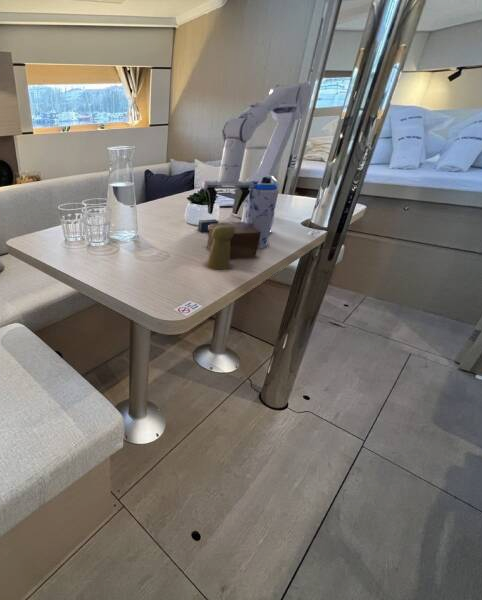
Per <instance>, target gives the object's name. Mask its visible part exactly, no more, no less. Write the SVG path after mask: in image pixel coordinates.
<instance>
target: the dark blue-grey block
mask: <svg viewBox="0 0 482 600" xmlns="http://www.w3.org/2000/svg"><path fill="white" fill-rule="evenodd" d="M216 223H219V221H218V220H217V219H216V218H215V219H214V218H213V219H212V218H211V219H200V220H198V224H197V225H198V226H197V231H198V232H200V233H209V230H208V225H210V224H216Z"/></svg>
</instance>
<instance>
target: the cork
mask: <svg viewBox="0 0 482 600" xmlns="http://www.w3.org/2000/svg"><path fill="white" fill-rule="evenodd" d="M233 234H234V231H233V229H232V228H231V227H229V226H217V227H215V228H214V229H213V232H212V236H213V238H214V240H213V244H212V247H211V251H210V250H209V255H208V258H207V261H206V268H208V269H210V270H212V271H227V270H229V269H230V268H231V267H230V266H231V265H230V263H231V262H230V261H231V259H230V240H231V239H232V237H233Z"/></svg>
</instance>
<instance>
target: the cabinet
mask: <svg viewBox="0 0 482 600" xmlns="http://www.w3.org/2000/svg"><path fill="white" fill-rule="evenodd" d="M217 226H229V227H231V228H232V229H233V231H234V234H233V237H232V239H231V240H230V260H242V259H255V258H256V257H257V252H258V249H259V248H258V244H259V239H260V234H261V232H260V231H258V230H257V229H255V228H253V227H251V226H250V225H248V224H246V223H244V222H241V221H232V222H231V221H230V222H218V223H216V224H210V229H209V232H208V237H207V244H206V248H207V249H208V250H209V252H210V251H211V247H212V244H213V240H214V238H213V236H212V232H213V229H214V228H215V227H217Z"/></svg>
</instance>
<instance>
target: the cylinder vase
mask: <svg viewBox="0 0 482 600" xmlns="http://www.w3.org/2000/svg"><path fill="white" fill-rule="evenodd" d="M267 147H268V145H257V146H256V145H255V146H254V145H253V146H246V148H245V153H244V158H243V163H242V168H241V173H240V178H239V181H245V182H247V179H248V178H250V177H251V176H253V175H255V174H256V173H257V172H258V170H259V167H260V165H261V162H262V160H263V157H264V155H265V152H266V150H267ZM276 173H277V170H276V171H275V174H274V176H273V177H274V178H275V177H276ZM275 179H276V178H275ZM243 209H244V205H242V204H241V206H240V208H239V210H238V213H237V214H234V213H232V215H233V216H234V217H236V218H239V219H242V214H243Z"/></svg>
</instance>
